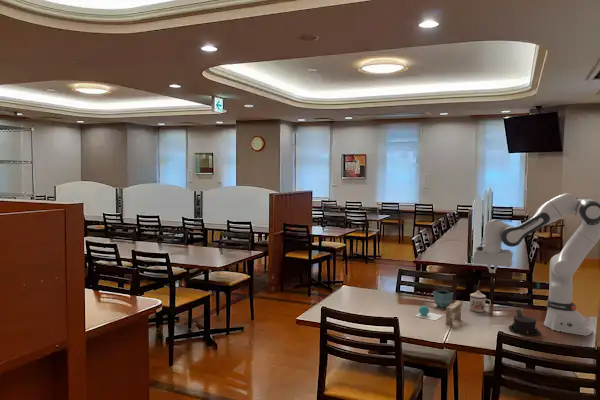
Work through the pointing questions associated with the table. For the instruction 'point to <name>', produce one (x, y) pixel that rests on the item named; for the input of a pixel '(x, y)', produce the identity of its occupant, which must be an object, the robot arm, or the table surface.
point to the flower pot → (442, 298)
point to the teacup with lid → (478, 302)
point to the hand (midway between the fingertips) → (492, 272)
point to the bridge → (450, 312)
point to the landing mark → (430, 316)
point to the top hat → (524, 325)
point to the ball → (423, 310)
